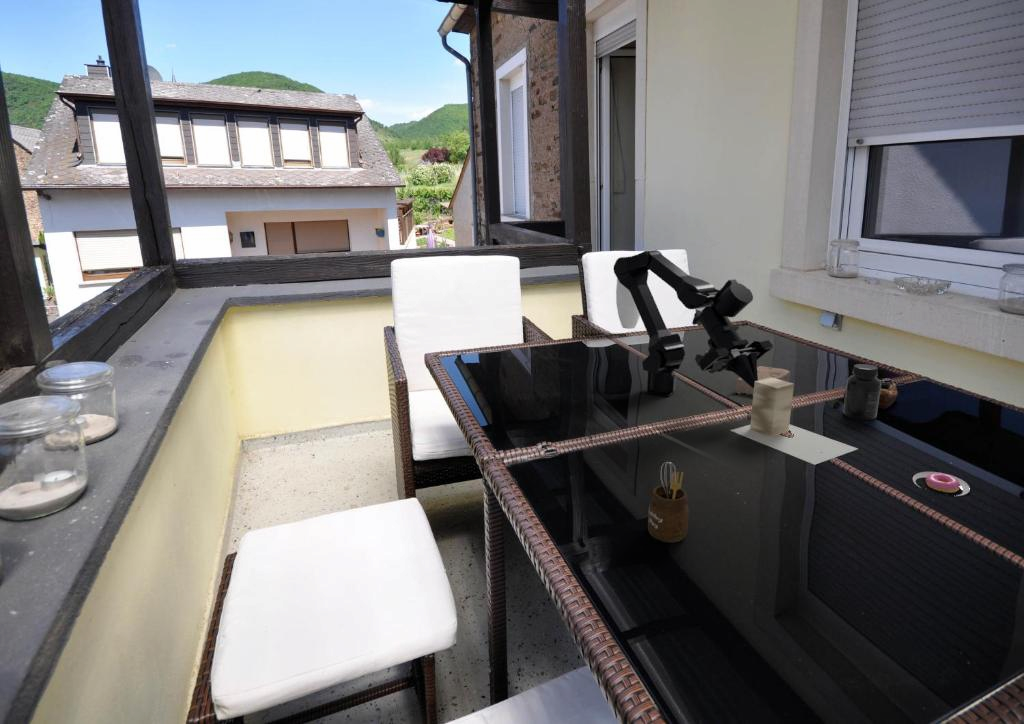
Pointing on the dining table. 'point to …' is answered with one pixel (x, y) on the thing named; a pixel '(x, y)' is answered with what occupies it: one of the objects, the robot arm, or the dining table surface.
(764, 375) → the brick
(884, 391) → the pastry
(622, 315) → the cup
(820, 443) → the mat
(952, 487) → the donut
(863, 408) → the supplement bottle
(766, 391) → the block
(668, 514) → the utensil holder
